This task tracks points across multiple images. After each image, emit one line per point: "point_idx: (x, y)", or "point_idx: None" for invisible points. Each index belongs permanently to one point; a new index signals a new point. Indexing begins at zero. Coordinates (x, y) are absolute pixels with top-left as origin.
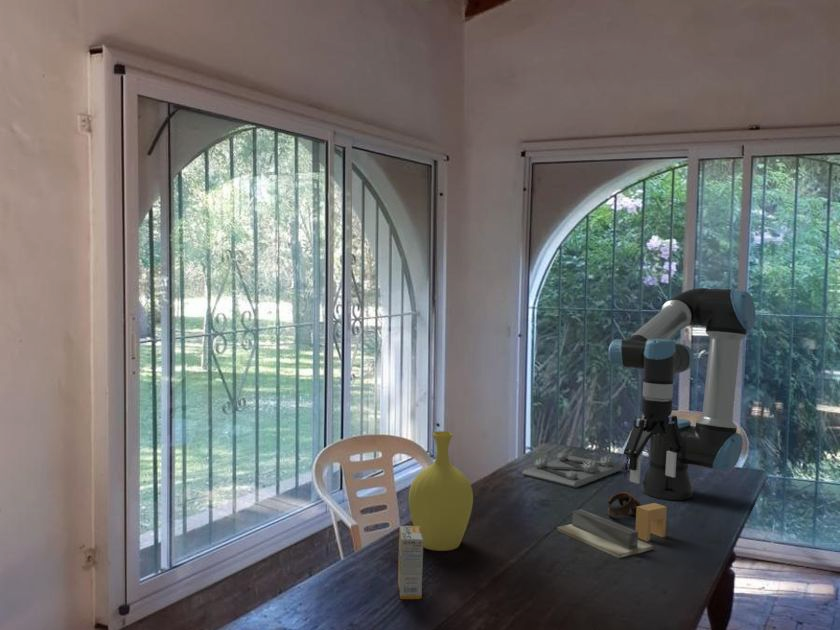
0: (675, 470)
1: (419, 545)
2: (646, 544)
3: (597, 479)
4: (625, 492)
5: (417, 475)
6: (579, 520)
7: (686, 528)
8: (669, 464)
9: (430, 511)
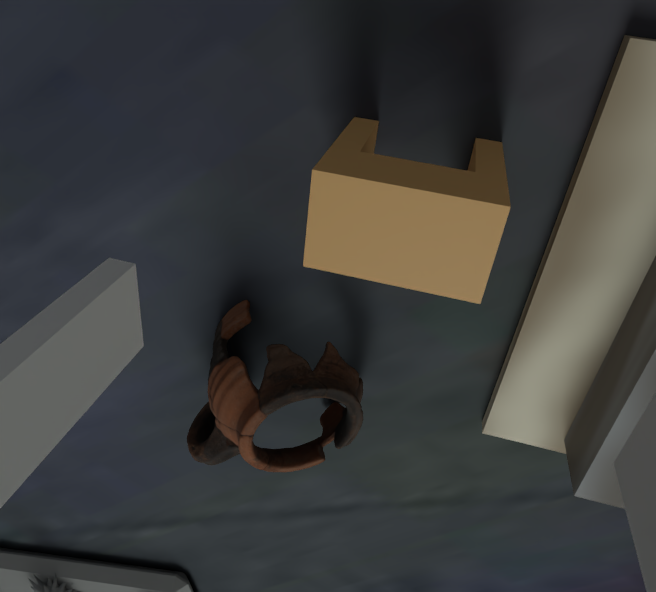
0: (68, 293)
1: None
2: (636, 78)
3: (67, 557)
4: (244, 449)
5: None
6: None
7: (152, 116)
8: (68, 385)
9: None
